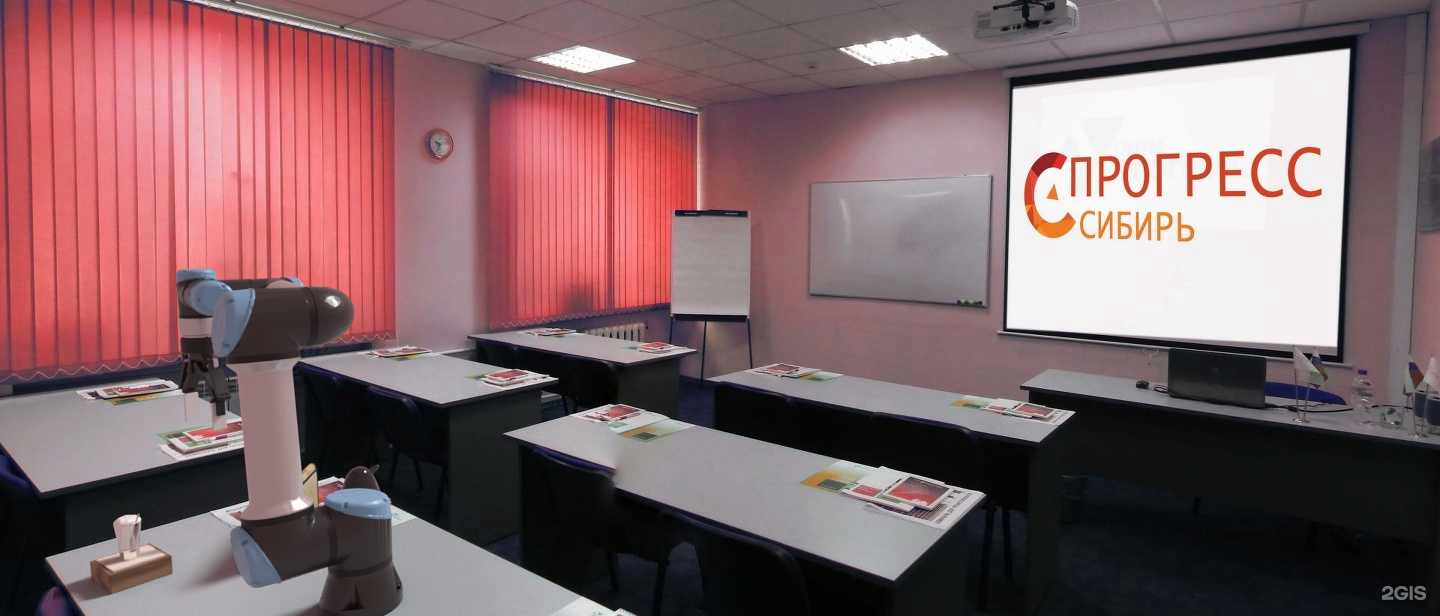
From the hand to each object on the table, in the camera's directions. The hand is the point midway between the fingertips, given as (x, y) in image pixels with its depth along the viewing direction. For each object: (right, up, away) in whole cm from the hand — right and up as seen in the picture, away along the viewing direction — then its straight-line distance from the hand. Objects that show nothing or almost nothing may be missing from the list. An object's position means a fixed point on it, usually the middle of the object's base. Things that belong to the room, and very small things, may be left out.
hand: (205, 424), depth 166 cm
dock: (-6, -30, -14) cm, 34 cm away
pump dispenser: (+30, -28, +14) cm, 43 cm away
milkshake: (-5, -26, -15) cm, 31 cm away
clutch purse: (+17, -29, +4) cm, 34 cm away
